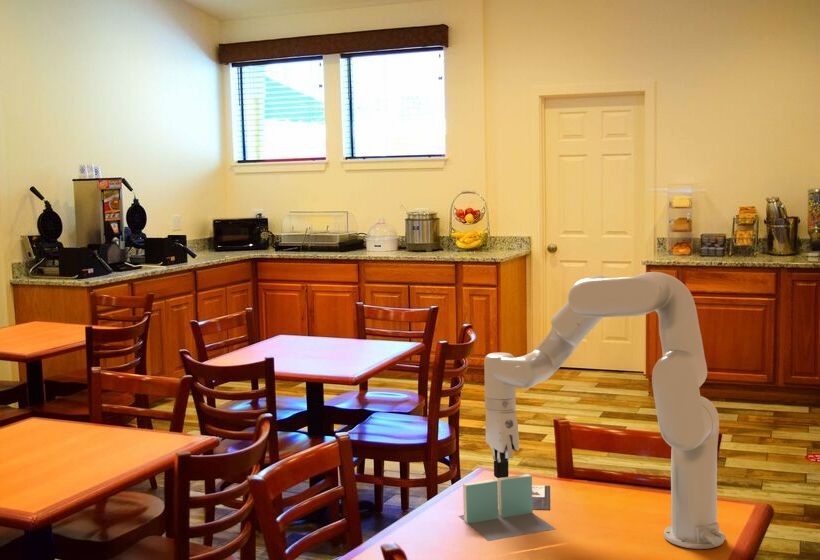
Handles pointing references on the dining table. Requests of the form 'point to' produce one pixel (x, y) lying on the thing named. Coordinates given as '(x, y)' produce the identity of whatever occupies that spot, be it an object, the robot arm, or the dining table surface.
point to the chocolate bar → (540, 497)
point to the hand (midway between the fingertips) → (501, 476)
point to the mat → (510, 526)
